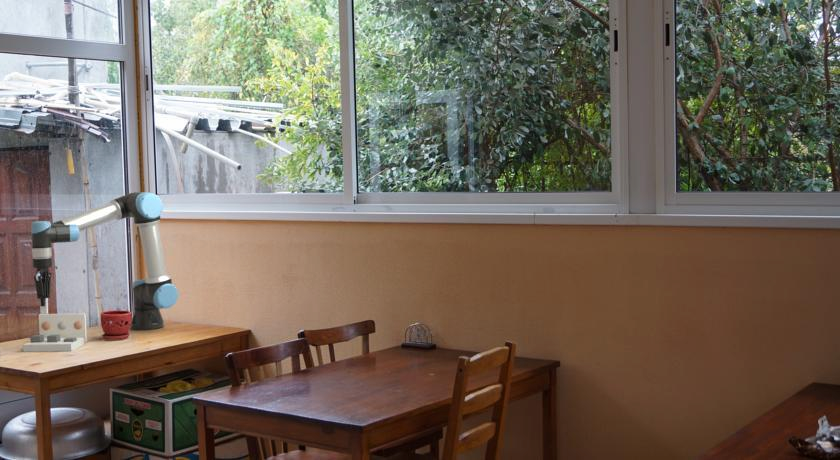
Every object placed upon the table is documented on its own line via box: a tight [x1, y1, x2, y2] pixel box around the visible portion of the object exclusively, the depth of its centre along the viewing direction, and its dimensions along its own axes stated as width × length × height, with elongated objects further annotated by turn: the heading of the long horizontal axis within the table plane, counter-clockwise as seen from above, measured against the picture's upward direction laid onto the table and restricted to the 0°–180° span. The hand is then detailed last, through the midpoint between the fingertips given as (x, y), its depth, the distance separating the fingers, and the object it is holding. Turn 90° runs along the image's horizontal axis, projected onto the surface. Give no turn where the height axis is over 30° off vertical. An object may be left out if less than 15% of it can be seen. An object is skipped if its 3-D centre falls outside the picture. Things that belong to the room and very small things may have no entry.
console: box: [22, 338, 85, 353], centre depth 395 cm, size 20×14×3 cm
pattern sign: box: [38, 312, 88, 342], centre depth 405 cm, size 20×5×13 cm, turn 89°
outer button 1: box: [64, 337, 77, 342], centre depth 395 cm, size 4×4×3 cm
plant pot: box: [100, 309, 133, 341], centre depth 415 cm, size 13×13×12 cm
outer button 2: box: [29, 334, 44, 343], centre depth 395 cm, size 4×4×3 cm
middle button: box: [47, 334, 60, 342], centre depth 395 cm, size 4×4×3 cm
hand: (44, 313), depth 394 cm, fingers closed
